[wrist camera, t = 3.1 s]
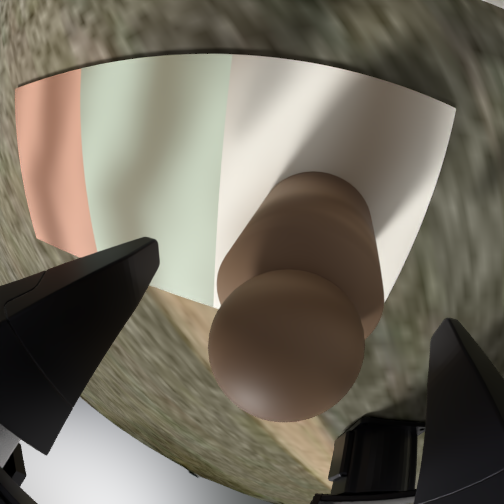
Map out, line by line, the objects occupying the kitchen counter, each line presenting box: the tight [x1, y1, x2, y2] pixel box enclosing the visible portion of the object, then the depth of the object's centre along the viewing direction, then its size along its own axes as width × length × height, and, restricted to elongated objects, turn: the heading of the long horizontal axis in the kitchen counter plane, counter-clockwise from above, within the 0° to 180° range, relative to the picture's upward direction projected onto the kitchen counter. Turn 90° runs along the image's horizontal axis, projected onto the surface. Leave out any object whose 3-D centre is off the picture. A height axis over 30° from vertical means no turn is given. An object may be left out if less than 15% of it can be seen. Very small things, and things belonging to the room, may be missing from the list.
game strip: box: [15, 54, 456, 309], centre depth 12 cm, size 24×12×1 cm, turn 83°
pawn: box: [208, 171, 384, 422], centre depth 8 cm, size 4×4×8 cm
